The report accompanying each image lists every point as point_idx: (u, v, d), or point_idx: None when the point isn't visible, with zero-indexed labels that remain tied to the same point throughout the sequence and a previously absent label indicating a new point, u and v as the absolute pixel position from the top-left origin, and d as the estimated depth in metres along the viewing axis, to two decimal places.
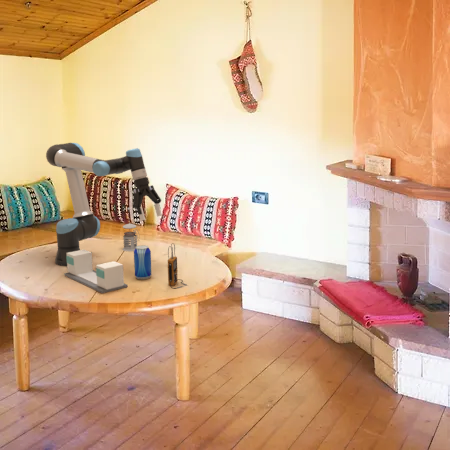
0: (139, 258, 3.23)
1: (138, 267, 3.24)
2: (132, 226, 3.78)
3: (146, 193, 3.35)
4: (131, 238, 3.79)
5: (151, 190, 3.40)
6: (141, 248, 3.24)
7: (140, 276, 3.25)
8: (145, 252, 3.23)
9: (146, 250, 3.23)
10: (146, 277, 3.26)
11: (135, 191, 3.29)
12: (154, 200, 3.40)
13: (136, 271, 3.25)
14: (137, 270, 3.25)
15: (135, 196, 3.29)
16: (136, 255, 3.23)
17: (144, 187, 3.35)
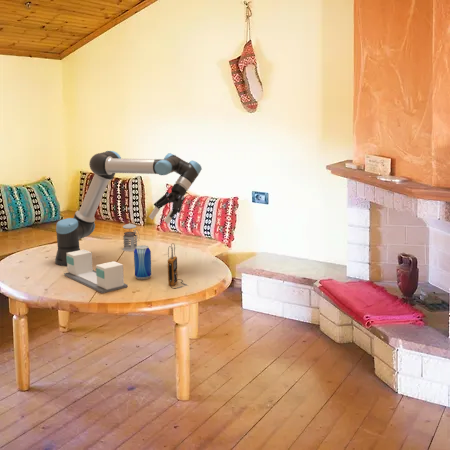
0: (139, 258, 3.23)
1: (138, 267, 3.24)
2: (132, 226, 3.78)
3: None
4: (131, 238, 3.79)
5: (166, 197, 3.38)
6: (141, 248, 3.24)
7: (140, 276, 3.25)
8: (145, 252, 3.23)
9: (146, 250, 3.23)
10: (146, 277, 3.26)
11: (182, 198, 3.29)
12: (161, 205, 3.36)
13: (136, 271, 3.25)
14: (137, 270, 3.25)
15: (181, 202, 3.27)
16: (136, 255, 3.23)
17: None
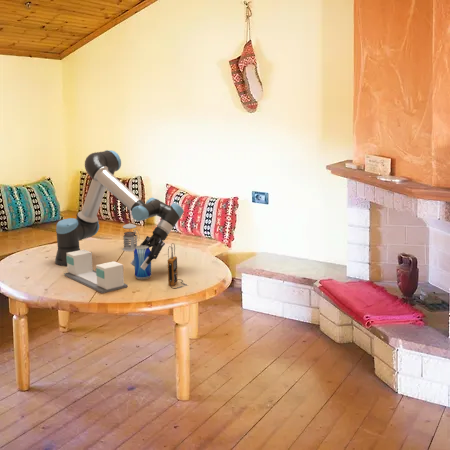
0: (139, 258, 3.23)
1: (138, 267, 3.24)
2: (132, 226, 3.78)
3: None
4: (131, 238, 3.79)
5: (147, 241, 3.34)
6: (141, 248, 3.24)
7: (140, 276, 3.25)
8: (145, 252, 3.23)
9: (146, 250, 3.23)
10: (146, 277, 3.26)
11: (162, 244, 3.25)
12: None
13: (136, 271, 3.25)
14: (137, 270, 3.25)
15: (159, 248, 3.24)
16: (136, 255, 3.23)
17: None
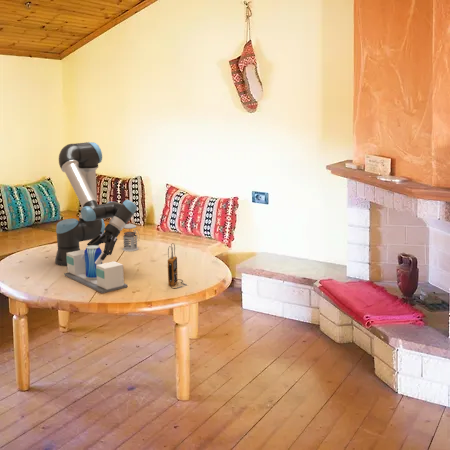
0: (89, 258, 3.17)
1: (88, 267, 3.18)
2: (132, 226, 3.78)
3: None
4: (131, 238, 3.79)
5: (100, 236, 3.28)
6: None
7: (90, 276, 3.19)
8: (95, 252, 3.17)
9: (96, 250, 3.18)
10: None
11: (115, 240, 3.19)
12: None
13: (86, 271, 3.20)
14: (87, 270, 3.19)
15: (113, 244, 3.18)
16: (86, 255, 3.18)
17: None
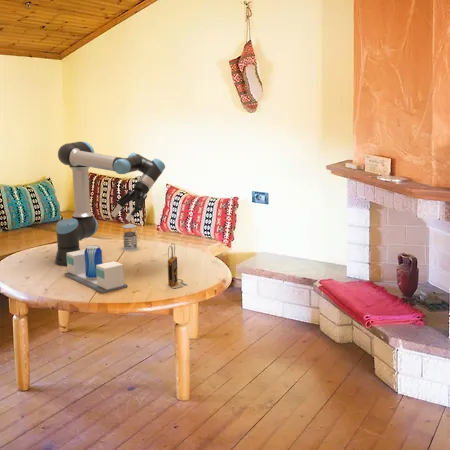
0: (89, 258, 3.17)
1: (88, 267, 3.18)
2: (132, 226, 3.78)
3: None
4: (131, 238, 3.79)
5: None
6: None
7: (90, 276, 3.19)
8: (95, 252, 3.17)
9: (96, 250, 3.18)
10: None
11: (145, 196, 3.28)
12: (123, 203, 3.35)
13: (86, 271, 3.20)
14: (87, 270, 3.19)
15: (143, 200, 3.26)
16: (86, 255, 3.18)
17: None
